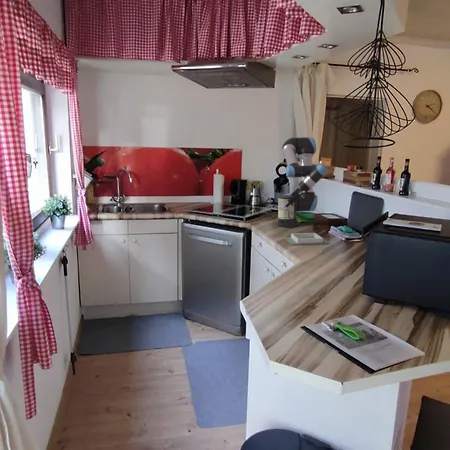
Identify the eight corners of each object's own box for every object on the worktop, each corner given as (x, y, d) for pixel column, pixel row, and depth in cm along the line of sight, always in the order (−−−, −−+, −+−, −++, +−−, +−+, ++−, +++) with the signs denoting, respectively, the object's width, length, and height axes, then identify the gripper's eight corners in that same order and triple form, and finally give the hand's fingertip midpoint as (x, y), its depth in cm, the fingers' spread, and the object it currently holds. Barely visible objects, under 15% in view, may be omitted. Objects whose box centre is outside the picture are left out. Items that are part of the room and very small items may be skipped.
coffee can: (279, 215, 269) (279, 194, 266) (295, 216, 266) (295, 195, 263) (276, 218, 260) (276, 197, 257) (292, 219, 256) (292, 197, 253)
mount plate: (285, 238, 257) (285, 233, 257) (318, 237, 260) (319, 232, 259) (292, 245, 241) (292, 239, 240) (328, 244, 243) (328, 238, 243)
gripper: (313, 190, 247) (286, 216, 251) (308, 186, 269) (284, 209, 273) (304, 182, 246) (278, 207, 250) (300, 178, 268) (276, 202, 272)
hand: (281, 208), depth 262 cm, fingers closed on coffee can, 10 cm apart
